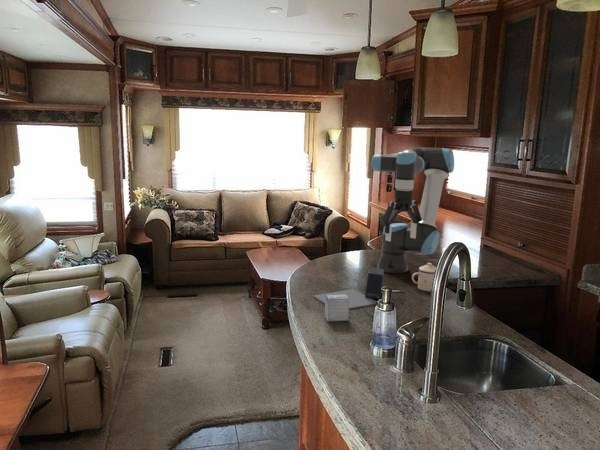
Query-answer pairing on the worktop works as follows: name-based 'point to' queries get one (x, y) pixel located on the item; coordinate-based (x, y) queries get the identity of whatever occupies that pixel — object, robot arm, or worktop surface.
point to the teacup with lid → (425, 277)
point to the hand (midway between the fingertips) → (400, 239)
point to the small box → (374, 283)
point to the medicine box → (336, 307)
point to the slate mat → (350, 298)
